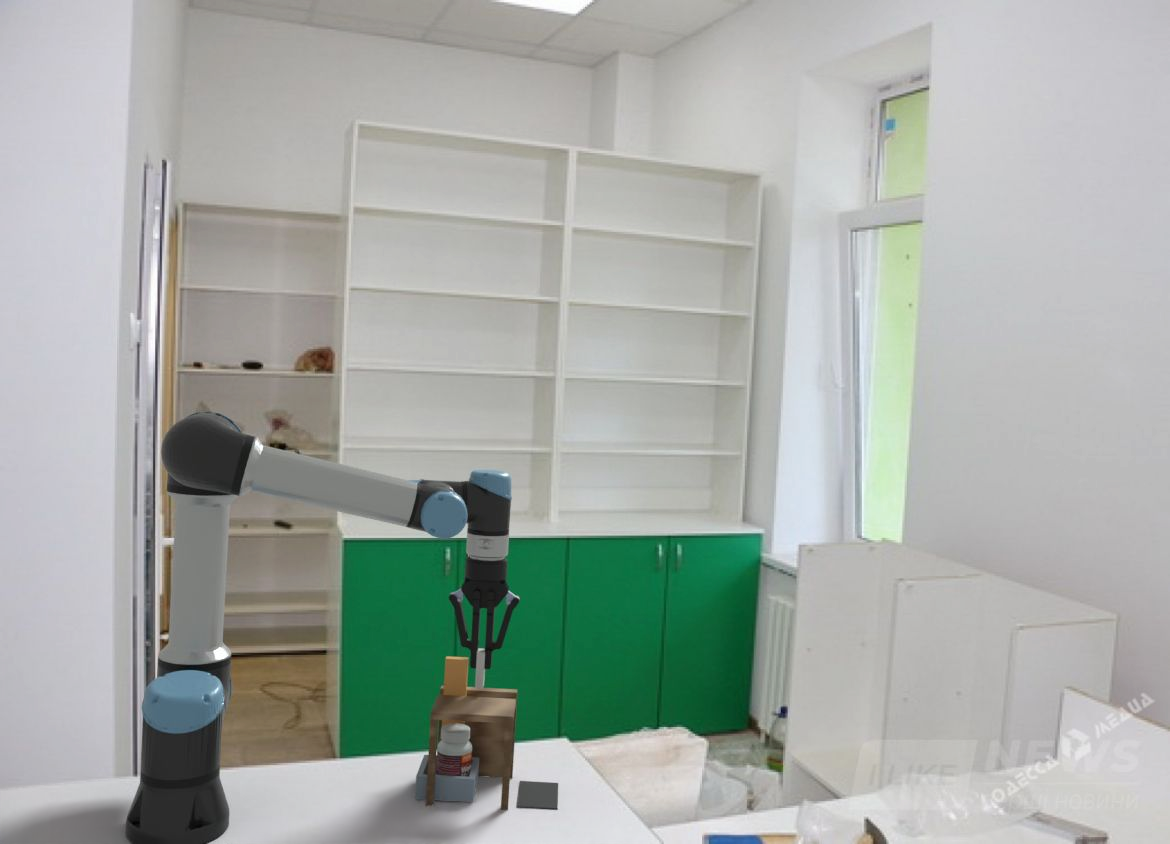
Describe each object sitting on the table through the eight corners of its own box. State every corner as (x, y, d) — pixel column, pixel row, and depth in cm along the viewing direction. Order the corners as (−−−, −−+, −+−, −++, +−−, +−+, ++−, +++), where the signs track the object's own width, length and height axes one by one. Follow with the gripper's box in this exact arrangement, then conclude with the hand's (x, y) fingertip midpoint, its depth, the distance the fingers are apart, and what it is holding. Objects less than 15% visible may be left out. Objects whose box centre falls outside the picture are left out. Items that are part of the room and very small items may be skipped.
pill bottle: (466, 799, 179) (470, 735, 179) (431, 796, 180) (435, 732, 179) (472, 785, 185) (476, 723, 185) (438, 782, 186) (442, 720, 185)
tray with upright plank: (414, 798, 178) (421, 671, 177) (423, 775, 188) (429, 655, 187) (473, 802, 178) (480, 675, 177) (478, 778, 188) (485, 658, 187)
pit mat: (516, 807, 177) (516, 806, 177) (519, 781, 188) (520, 780, 188) (557, 809, 178) (557, 808, 178) (558, 783, 189) (558, 782, 189)
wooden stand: (425, 805, 176) (430, 712, 175) (436, 771, 191) (441, 685, 190) (507, 810, 176) (513, 716, 175) (512, 775, 191) (517, 689, 190)
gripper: (448, 558, 181) (441, 690, 183) (521, 562, 182) (514, 694, 183) (453, 550, 189) (446, 677, 190) (523, 554, 189) (516, 681, 190)
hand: (479, 685), depth 186 cm, fingers closed
